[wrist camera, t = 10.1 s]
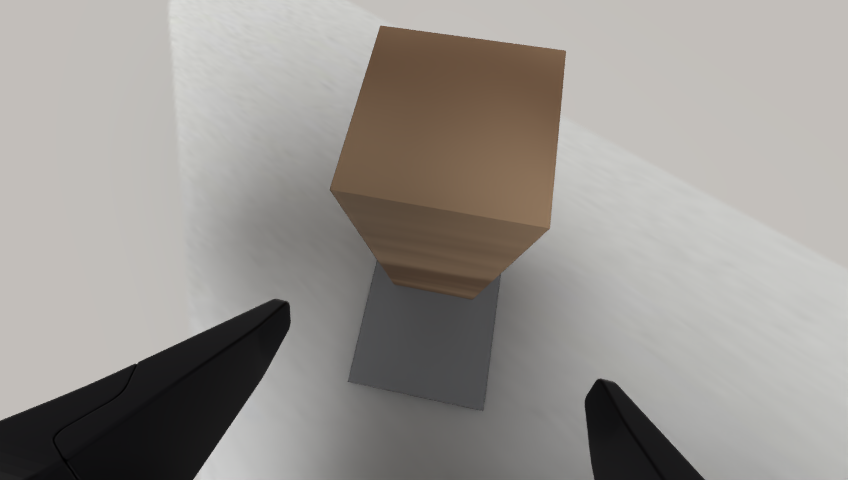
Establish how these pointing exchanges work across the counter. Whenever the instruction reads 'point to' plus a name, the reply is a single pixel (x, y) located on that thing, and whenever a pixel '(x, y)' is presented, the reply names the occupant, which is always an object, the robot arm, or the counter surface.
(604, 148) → the counter surface
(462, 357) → the rubber mat
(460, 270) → the walnut block
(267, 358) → the robot arm
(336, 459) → the counter surface
